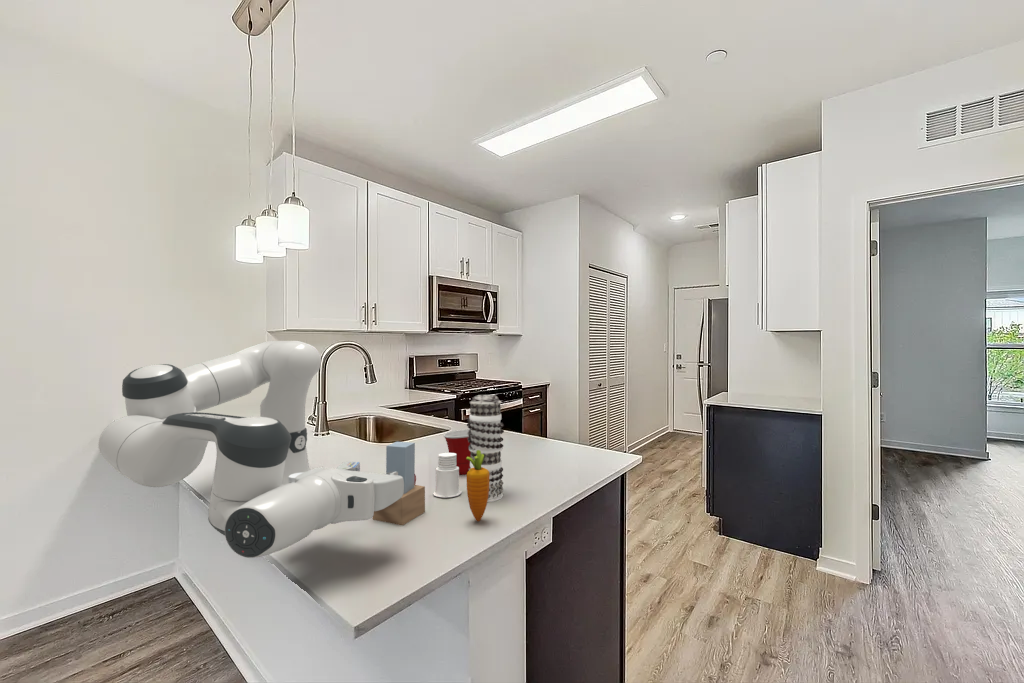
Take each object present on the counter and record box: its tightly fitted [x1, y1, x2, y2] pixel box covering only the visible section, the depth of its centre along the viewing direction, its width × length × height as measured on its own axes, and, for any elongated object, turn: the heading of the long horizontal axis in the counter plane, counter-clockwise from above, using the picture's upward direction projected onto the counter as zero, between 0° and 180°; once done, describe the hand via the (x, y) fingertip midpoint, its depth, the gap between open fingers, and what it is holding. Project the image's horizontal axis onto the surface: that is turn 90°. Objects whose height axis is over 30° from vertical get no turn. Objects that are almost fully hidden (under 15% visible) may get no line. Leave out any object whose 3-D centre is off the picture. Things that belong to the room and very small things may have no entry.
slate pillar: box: [385, 441, 416, 494], centre depth 98 cm, size 4×4×10 cm
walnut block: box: [372, 484, 426, 526], centre depth 99 cm, size 8×8×6 cm
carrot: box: [465, 450, 490, 523], centre depth 95 cm, size 5×5×15 cm
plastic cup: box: [442, 428, 471, 476], centre depth 131 cm, size 11×11×12 cm
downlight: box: [432, 452, 462, 499], centre depth 112 cm, size 8×7×10 cm
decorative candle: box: [466, 394, 505, 503], centre depth 110 cm, size 9×9×25 cm
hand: (374, 473), depth 89 cm, fingers open, 8 cm apart
